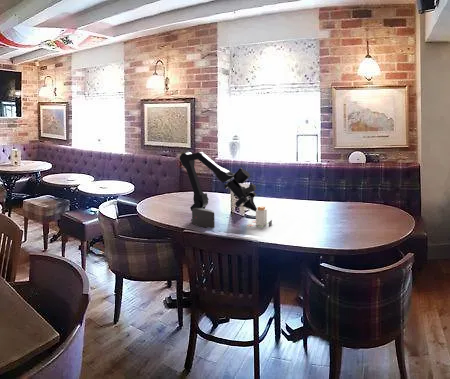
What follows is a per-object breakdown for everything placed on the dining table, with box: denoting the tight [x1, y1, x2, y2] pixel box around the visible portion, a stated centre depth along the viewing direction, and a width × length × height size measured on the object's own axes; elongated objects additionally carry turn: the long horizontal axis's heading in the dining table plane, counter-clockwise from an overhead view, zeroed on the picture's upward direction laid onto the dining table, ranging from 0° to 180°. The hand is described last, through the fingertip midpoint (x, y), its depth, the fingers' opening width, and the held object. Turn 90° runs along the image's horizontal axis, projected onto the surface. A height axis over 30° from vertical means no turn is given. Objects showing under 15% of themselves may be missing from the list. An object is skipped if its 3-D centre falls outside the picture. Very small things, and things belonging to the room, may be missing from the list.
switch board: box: [247, 219, 273, 228], centre depth 215 cm, size 16×11×4 cm
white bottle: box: [255, 205, 268, 227], centre depth 213 cm, size 4×4×10 cm
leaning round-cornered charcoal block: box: [191, 208, 215, 229], centre depth 215 cm, size 16×5×9 cm, turn 48°
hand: (256, 211), depth 213 cm, fingers closed, pressing on white bottle
